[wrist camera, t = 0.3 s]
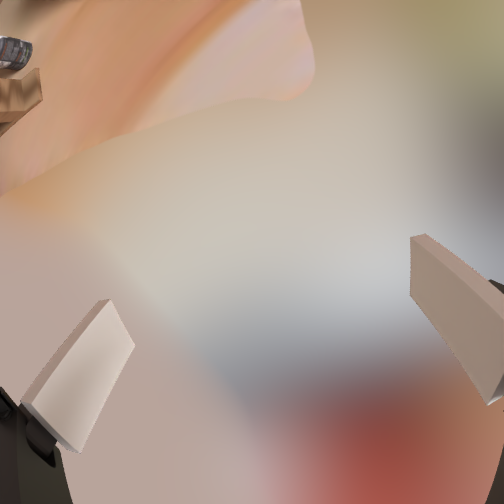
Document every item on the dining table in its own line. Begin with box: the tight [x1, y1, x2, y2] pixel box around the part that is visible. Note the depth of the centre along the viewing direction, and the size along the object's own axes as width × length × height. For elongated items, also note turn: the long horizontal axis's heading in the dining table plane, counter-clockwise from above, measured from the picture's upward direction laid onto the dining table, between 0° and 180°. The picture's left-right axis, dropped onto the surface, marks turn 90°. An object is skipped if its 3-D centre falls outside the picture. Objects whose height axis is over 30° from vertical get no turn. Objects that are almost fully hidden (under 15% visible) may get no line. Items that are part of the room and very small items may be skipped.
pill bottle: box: [0, 36, 33, 70], centre depth 22 cm, size 6×6×11 cm
